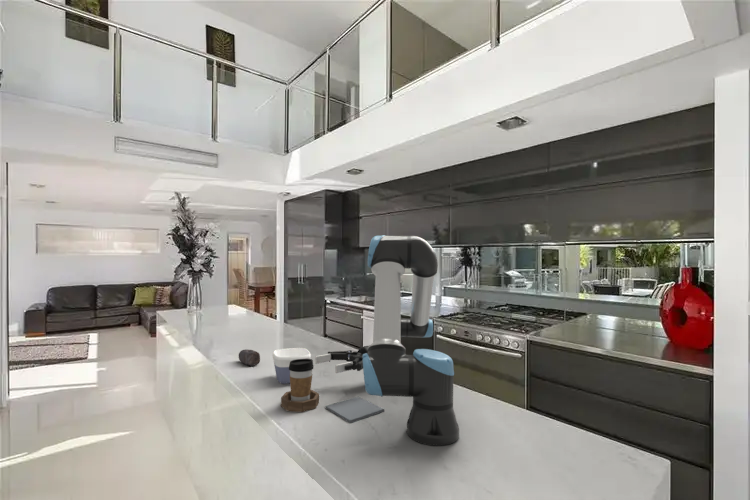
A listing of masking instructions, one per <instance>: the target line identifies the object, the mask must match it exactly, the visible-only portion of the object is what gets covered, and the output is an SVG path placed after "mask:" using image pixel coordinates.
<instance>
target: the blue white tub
mask: <svg viewBox="0 0 750 500" xmlns="http://www.w3.org/2000/svg"><path fill="white" fill-rule="evenodd" d="M311 357H312V354H311V352H310V351H309V350H308V349H307V348H305V347H294V348H293V347H291V348H289V347H288V348H279V349H275V350H274V351H273V352H272V360H273V365H274V371H275V375H276V380H277V381H278V382H279V383H280V384H281V385H282V384H283V385H287V384H290V370H289V365H290V361H292V360H296V359H311Z"/></svg>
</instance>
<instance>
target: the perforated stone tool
mask: <svg viewBox="0 0 750 500" xmlns="http://www.w3.org/2000/svg"><path fill="white" fill-rule="evenodd" d="M238 360H239V361H240V363H241V364H242V363H243V365H246V366H250V367H253V366H258V365H259V364H260V362H261V355H260V353H259V352H258V351H255V350H253V349H247V348H246V349H242V350H240V351H239V352H238Z"/></svg>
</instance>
